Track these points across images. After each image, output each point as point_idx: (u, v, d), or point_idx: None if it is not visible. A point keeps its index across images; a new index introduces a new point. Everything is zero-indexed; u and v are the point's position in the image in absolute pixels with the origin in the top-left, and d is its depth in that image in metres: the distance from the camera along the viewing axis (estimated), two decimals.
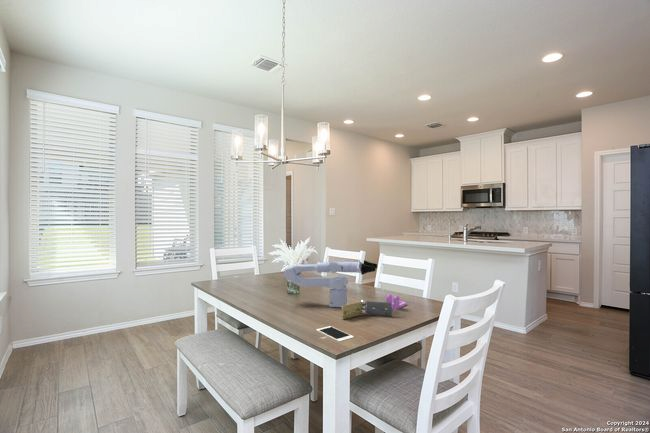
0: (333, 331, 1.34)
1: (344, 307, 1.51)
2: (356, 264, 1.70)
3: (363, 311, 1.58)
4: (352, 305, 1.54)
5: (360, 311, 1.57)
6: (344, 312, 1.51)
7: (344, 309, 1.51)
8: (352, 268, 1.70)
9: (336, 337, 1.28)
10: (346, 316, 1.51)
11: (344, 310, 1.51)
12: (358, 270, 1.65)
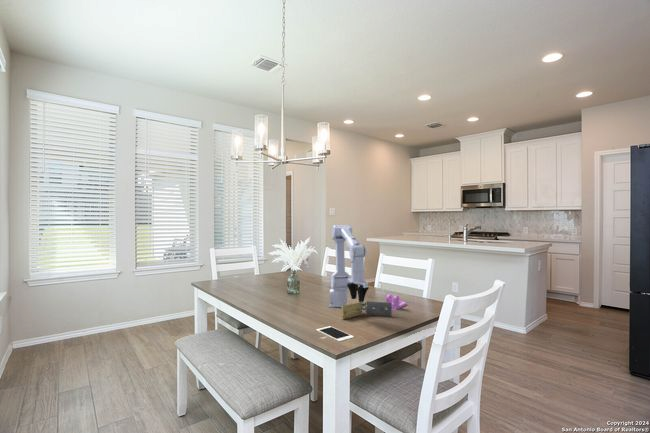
0: (333, 331, 1.34)
1: (344, 307, 1.51)
2: None
3: (363, 311, 1.58)
4: (352, 305, 1.54)
5: (360, 311, 1.57)
6: (344, 312, 1.51)
7: (344, 309, 1.51)
8: None
9: (336, 337, 1.28)
10: (346, 316, 1.51)
11: (344, 310, 1.51)
12: None
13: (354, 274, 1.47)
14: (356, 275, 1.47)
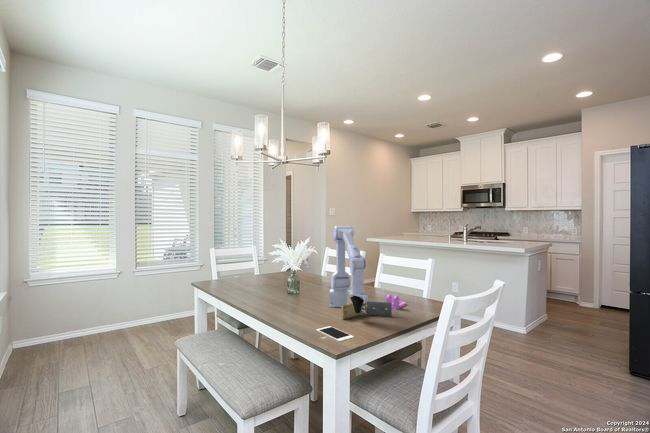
0: (333, 331, 1.34)
1: (344, 307, 1.51)
2: None
3: (363, 311, 1.58)
4: (352, 305, 1.54)
5: (360, 311, 1.57)
6: (344, 312, 1.51)
7: (344, 309, 1.51)
8: None
9: (336, 337, 1.28)
10: (346, 316, 1.51)
11: (344, 310, 1.51)
12: None
13: (354, 286, 1.47)
14: (356, 287, 1.46)
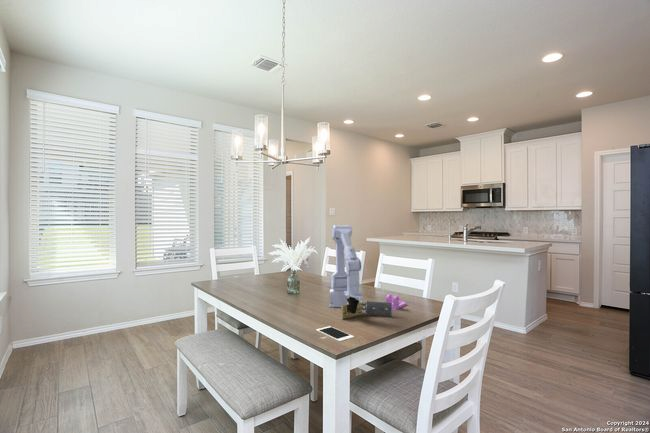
0: (333, 331, 1.34)
1: (344, 307, 1.51)
2: None
3: (363, 311, 1.58)
4: None
5: (360, 311, 1.57)
6: (343, 312, 1.51)
7: (344, 309, 1.51)
8: None
9: (336, 337, 1.28)
10: (346, 316, 1.52)
11: (344, 310, 1.51)
12: None
13: (350, 288, 1.50)
14: (352, 289, 1.50)
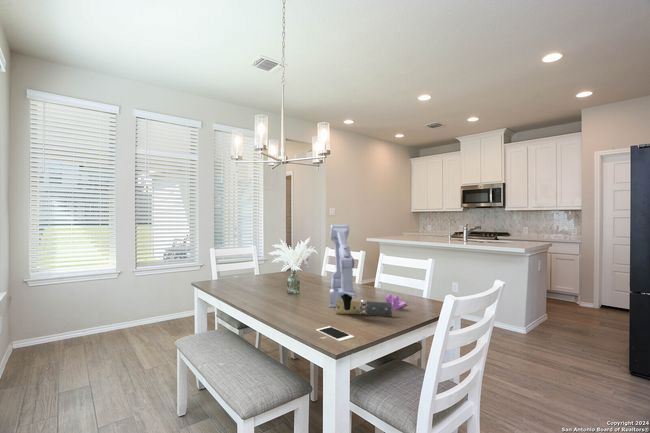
0: (333, 331, 1.34)
1: (337, 302, 1.59)
2: None
3: (363, 311, 1.58)
4: None
5: (358, 310, 1.58)
6: (337, 307, 1.59)
7: (337, 304, 1.59)
8: None
9: (336, 337, 1.28)
10: (340, 311, 1.59)
11: (337, 305, 1.59)
12: None
13: (343, 285, 1.55)
14: (345, 286, 1.55)
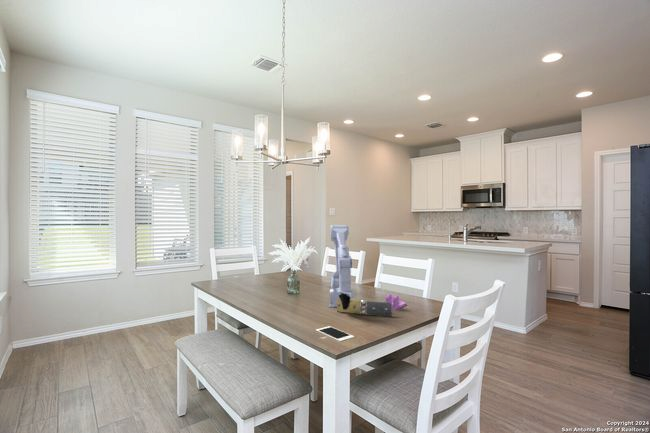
0: (333, 331, 1.34)
1: (338, 300, 1.63)
2: None
3: (363, 311, 1.58)
4: None
5: (358, 310, 1.59)
6: (338, 305, 1.63)
7: (338, 302, 1.63)
8: None
9: (336, 337, 1.28)
10: (340, 309, 1.62)
11: (338, 303, 1.63)
12: None
13: (342, 284, 1.57)
14: (343, 285, 1.57)
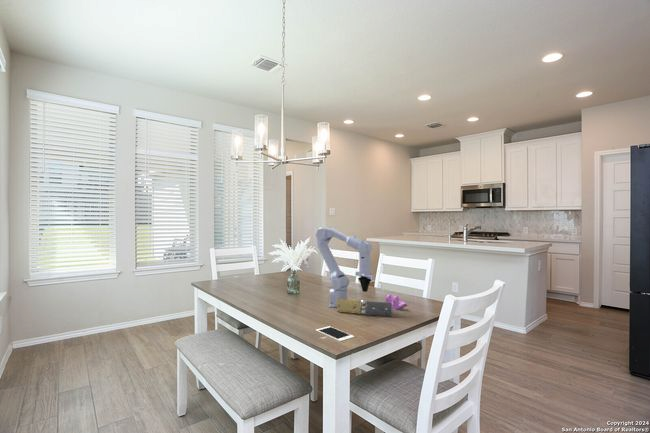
0: (333, 331, 1.34)
1: (338, 300, 1.63)
2: None
3: (363, 311, 1.58)
4: (347, 301, 1.61)
5: (358, 310, 1.59)
6: (338, 305, 1.63)
7: (338, 302, 1.63)
8: None
9: (337, 337, 1.28)
10: (340, 309, 1.62)
11: (338, 303, 1.63)
12: None
13: (362, 268, 1.65)
14: (364, 269, 1.65)
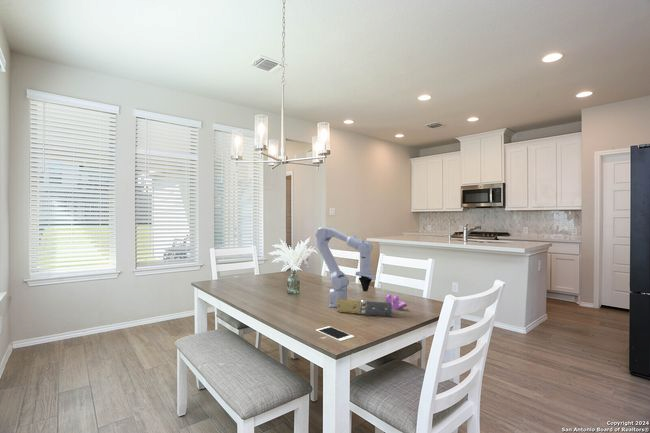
0: (333, 331, 1.34)
1: (338, 300, 1.63)
2: None
3: (363, 311, 1.58)
4: (347, 301, 1.61)
5: (358, 310, 1.59)
6: (338, 305, 1.63)
7: (338, 302, 1.63)
8: None
9: (337, 337, 1.28)
10: (340, 309, 1.62)
11: (338, 303, 1.63)
12: None
13: (363, 268, 1.65)
14: (365, 269, 1.65)
